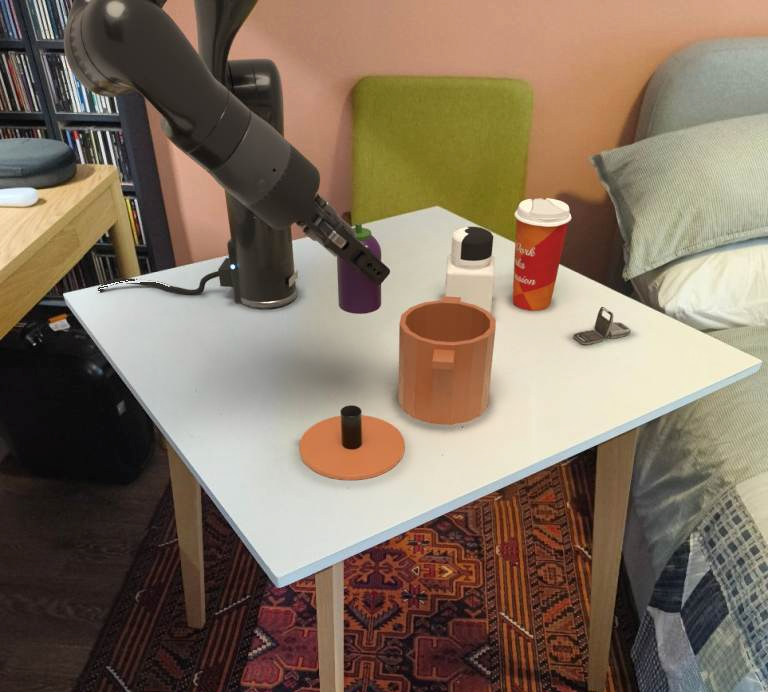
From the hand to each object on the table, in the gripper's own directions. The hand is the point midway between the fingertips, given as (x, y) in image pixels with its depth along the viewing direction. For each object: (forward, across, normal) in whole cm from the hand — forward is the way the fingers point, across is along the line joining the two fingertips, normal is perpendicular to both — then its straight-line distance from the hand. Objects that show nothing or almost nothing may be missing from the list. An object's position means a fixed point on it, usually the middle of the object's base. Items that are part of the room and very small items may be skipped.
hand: (374, 267), depth 88 cm
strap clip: (+39, +4, -14) cm, 42 cm away
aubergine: (+2, 0, +4) cm, 5 cm away
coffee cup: (+37, +17, -11) cm, 42 cm away
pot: (+18, -4, +7) cm, 20 cm away
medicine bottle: (+29, +20, -4) cm, 36 cm away
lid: (+8, -9, +17) cm, 21 cm away
